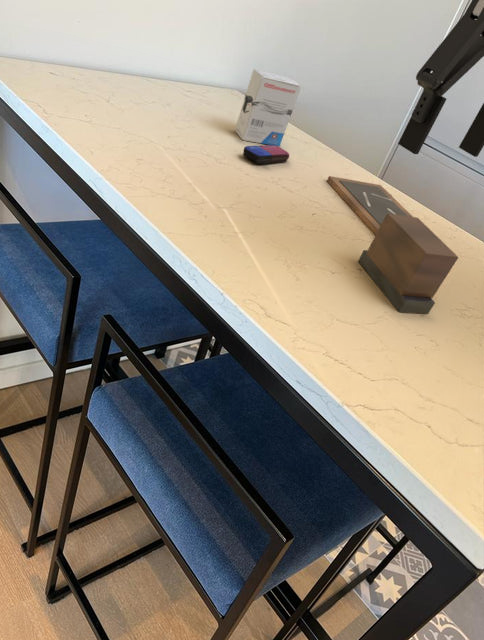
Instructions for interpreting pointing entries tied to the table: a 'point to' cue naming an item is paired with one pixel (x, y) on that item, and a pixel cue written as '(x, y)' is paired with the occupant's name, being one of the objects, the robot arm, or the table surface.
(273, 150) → the eraser
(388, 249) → the duster
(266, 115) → the ink box
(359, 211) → the board
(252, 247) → the table surface
